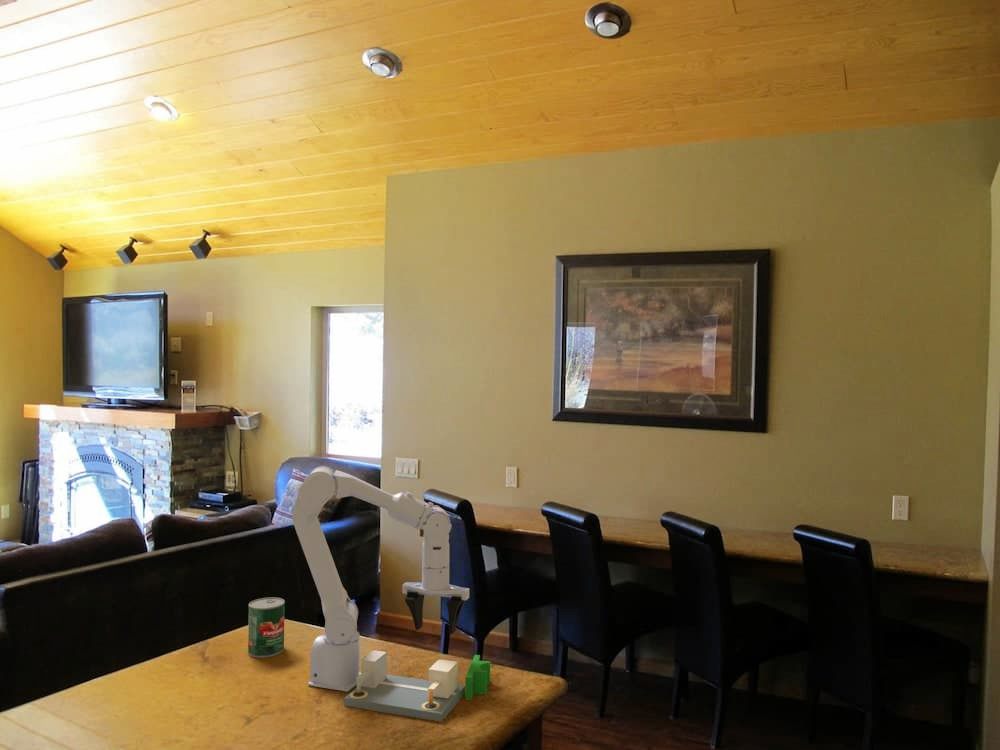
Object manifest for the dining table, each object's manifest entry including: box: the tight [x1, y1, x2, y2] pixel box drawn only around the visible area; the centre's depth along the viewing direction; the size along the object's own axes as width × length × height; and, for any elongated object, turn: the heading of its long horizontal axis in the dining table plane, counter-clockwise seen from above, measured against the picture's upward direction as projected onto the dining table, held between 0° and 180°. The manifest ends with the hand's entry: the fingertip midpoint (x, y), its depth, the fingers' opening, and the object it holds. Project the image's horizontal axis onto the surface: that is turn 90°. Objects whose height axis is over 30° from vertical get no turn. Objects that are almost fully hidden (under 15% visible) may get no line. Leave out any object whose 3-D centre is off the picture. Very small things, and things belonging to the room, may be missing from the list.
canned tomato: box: [247, 596, 286, 658], centre depth 156 cm, size 8×8×11 cm
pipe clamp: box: [464, 654, 491, 701], centre depth 137 cm, size 11×4×5 cm, turn 173°
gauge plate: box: [343, 649, 466, 723], centre depth 132 cm, size 20×12×7 cm, turn 72°
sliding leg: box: [428, 659, 459, 705], centre depth 130 cm, size 4×9×5 cm, turn 162°
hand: (435, 630), depth 143 cm, fingers open, 7 cm apart
